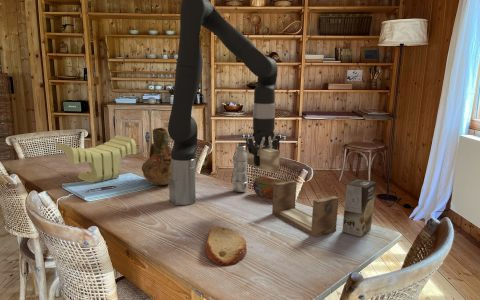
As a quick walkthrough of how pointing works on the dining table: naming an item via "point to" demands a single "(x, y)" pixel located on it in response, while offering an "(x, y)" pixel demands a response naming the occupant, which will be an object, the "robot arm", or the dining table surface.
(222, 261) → the slice of bread
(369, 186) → the coffee box
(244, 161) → the grey bottle
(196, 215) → the dining table surface
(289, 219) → the holder
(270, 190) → the tin
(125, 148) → the yellow slatted rack
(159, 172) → the ceramic vessel
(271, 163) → the birch block
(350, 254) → the dining table surface
